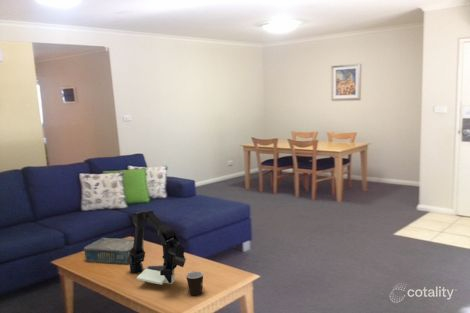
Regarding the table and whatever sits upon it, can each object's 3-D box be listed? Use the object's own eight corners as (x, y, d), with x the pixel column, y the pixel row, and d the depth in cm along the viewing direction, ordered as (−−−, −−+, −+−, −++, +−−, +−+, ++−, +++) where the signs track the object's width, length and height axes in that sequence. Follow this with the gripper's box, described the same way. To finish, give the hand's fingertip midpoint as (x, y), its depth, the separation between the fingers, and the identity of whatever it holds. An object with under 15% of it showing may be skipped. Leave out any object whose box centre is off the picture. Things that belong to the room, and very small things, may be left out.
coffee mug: (197, 298, 213) (196, 279, 212) (184, 295, 217) (182, 276, 216) (211, 289, 223) (209, 270, 221) (197, 286, 227) (196, 268, 226)
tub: (144, 283, 234) (143, 272, 233) (148, 276, 243) (147, 265, 242) (170, 282, 233) (169, 271, 232) (173, 275, 242) (172, 265, 241)
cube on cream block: (136, 281, 226) (136, 273, 225) (146, 272, 235) (145, 264, 233) (168, 287, 220) (168, 280, 219) (177, 278, 228) (176, 270, 227)
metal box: (103, 251, 291) (101, 237, 290) (145, 253, 282) (144, 239, 280) (84, 263, 271) (82, 248, 270) (128, 266, 261) (127, 250, 260)
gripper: (180, 258, 212) (183, 288, 214) (186, 245, 231) (188, 273, 233) (158, 259, 213) (161, 289, 215) (166, 246, 231) (168, 274, 234)
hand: (170, 281), depth 224 cm, fingers closed on cube on cream block, 4 cm apart
